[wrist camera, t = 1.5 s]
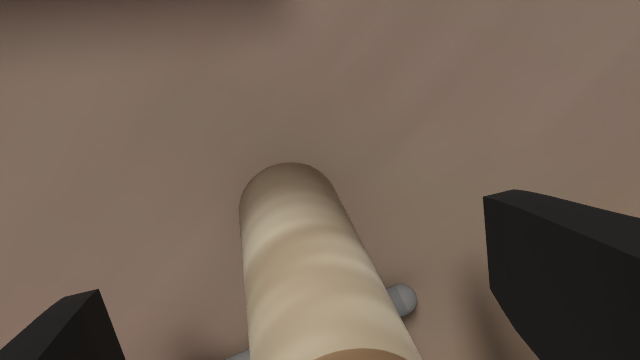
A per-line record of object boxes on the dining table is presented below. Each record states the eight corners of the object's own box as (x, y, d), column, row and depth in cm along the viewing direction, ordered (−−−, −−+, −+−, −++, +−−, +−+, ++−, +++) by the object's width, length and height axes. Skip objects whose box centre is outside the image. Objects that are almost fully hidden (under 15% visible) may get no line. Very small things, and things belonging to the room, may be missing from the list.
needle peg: (336, 158, 14) (483, 399, 6) (338, 248, 14) (469, 558, 7) (235, 167, 13) (254, 432, 6) (243, 258, 14) (268, 596, 6)
